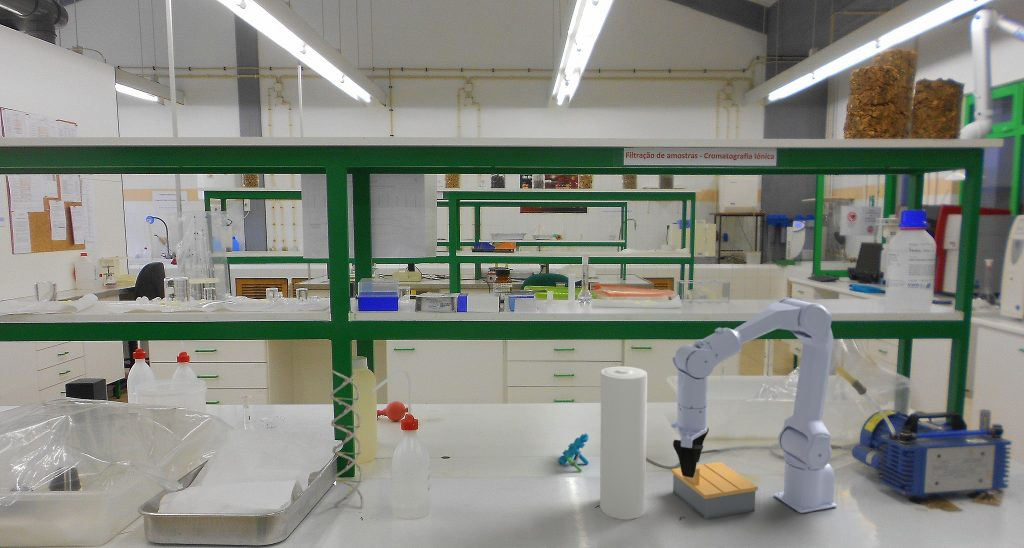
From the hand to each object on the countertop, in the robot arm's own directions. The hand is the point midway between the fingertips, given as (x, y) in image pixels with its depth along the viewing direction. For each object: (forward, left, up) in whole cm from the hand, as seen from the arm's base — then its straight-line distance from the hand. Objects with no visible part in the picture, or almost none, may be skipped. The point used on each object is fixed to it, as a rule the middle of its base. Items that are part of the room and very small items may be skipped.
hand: (690, 468), depth 117 cm
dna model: (+68, -23, -10) cm, 73 cm away
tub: (-8, -3, -10) cm, 13 cm away
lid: (-8, -3, -5) cm, 10 cm away
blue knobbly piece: (+14, -29, -10) cm, 34 cm away
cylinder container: (+12, -6, -10) cm, 17 cm away
